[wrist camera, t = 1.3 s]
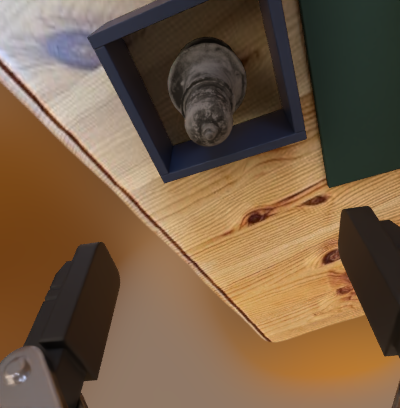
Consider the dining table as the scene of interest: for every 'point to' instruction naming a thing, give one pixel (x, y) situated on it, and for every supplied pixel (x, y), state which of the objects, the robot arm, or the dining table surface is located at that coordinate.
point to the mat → (355, 84)
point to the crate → (240, 134)
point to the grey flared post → (207, 89)
